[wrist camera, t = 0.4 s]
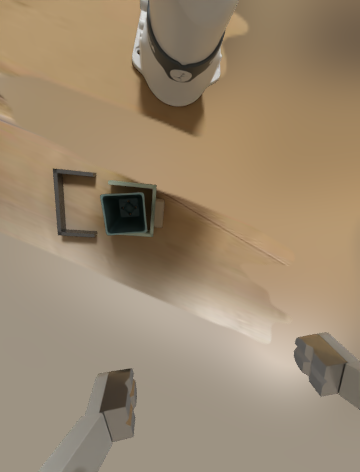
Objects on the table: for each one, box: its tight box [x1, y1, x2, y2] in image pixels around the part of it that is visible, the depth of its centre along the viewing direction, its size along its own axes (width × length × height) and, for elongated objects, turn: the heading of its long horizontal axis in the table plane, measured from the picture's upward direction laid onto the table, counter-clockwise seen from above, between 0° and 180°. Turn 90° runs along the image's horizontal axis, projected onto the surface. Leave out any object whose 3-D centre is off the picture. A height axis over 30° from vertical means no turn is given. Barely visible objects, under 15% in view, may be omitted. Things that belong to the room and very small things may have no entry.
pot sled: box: [108, 180, 165, 237], centre depth 46 cm, size 13×13×6 cm
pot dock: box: [53, 169, 97, 237], centre depth 46 cm, size 15×8×2 cm, turn 174°
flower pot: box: [100, 192, 147, 235], centre depth 45 cm, size 9×9×9 cm
